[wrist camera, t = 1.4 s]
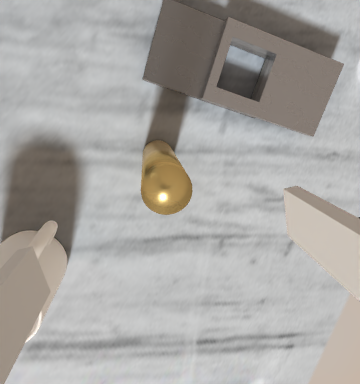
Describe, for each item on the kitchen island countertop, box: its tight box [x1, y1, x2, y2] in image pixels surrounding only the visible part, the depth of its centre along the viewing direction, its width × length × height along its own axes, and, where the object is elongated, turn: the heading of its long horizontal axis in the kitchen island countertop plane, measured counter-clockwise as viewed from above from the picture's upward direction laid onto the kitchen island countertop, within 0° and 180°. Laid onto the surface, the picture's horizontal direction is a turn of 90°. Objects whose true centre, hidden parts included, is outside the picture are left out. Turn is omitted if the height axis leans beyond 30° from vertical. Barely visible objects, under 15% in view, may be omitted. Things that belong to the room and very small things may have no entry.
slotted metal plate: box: [143, 0, 344, 136], centre depth 32 cm, size 20×8×3 cm, turn 72°
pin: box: [141, 140, 192, 215], centre depth 27 cm, size 4×4×15 cm
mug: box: [0, 220, 67, 342], centre depth 31 cm, size 12×8×10 cm
